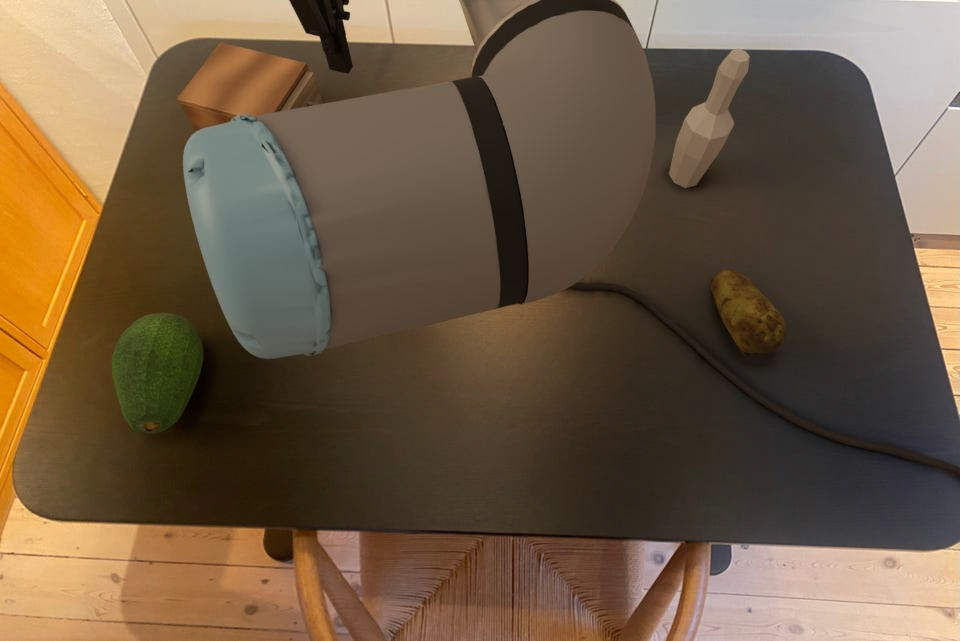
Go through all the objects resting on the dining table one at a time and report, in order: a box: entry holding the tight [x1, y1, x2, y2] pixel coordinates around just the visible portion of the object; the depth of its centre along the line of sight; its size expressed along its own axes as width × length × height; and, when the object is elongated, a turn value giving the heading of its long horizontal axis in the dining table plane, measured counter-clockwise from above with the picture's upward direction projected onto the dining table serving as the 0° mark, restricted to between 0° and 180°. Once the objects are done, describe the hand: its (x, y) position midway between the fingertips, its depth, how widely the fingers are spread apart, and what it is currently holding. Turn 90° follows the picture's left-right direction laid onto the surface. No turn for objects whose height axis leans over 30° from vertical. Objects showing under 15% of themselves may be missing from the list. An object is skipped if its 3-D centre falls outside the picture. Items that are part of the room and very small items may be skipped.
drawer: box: [280, 71, 324, 111], centre depth 92 cm, size 18×11×8 cm, turn 71°
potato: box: [710, 268, 787, 357], centre depth 78 cm, size 8×13×8 cm, turn 171°
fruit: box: [111, 312, 204, 435], centre depth 73 cm, size 15×10×10 cm, turn 1°
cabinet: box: [176, 41, 310, 132], centre depth 93 cm, size 15×13×10 cm
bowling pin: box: [668, 48, 751, 189], centre depth 83 cm, size 6×6×22 cm
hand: (341, 67), depth 79 cm, fingers closed
